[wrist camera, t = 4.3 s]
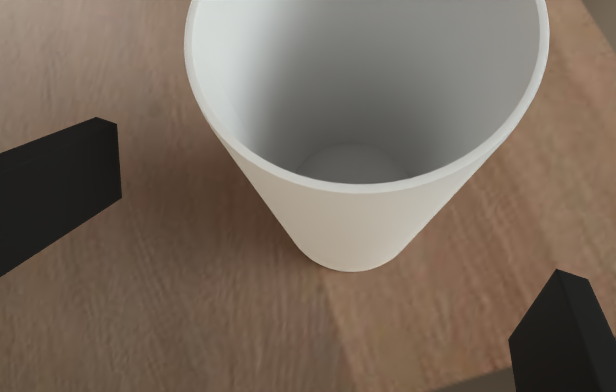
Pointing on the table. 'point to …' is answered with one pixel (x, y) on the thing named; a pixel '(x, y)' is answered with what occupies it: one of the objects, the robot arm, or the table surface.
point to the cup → (362, 107)
